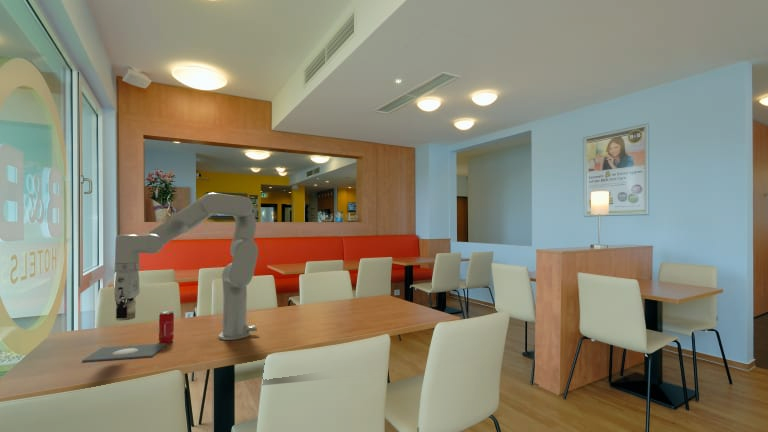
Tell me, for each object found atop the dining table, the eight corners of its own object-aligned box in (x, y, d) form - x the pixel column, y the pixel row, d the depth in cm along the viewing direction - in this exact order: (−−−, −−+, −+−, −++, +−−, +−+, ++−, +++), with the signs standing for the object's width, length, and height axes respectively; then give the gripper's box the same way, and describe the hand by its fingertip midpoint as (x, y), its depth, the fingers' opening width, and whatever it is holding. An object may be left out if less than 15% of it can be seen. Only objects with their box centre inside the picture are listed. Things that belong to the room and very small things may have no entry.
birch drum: (137, 316, 141) (138, 300, 141) (131, 320, 135) (131, 303, 135) (119, 316, 139) (120, 301, 139) (112, 320, 133) (113, 304, 134)
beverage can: (166, 344, 148) (167, 314, 148) (155, 343, 149) (156, 313, 149) (176, 340, 153) (176, 311, 153) (165, 339, 154) (166, 310, 154)
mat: (165, 344, 147) (165, 342, 147) (152, 356, 134) (152, 354, 134) (102, 348, 142) (102, 347, 142) (81, 362, 128) (82, 360, 128)
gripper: (128, 269, 130) (127, 321, 130) (147, 264, 147) (146, 310, 146) (104, 270, 128) (102, 322, 128) (125, 265, 145) (124, 311, 145)
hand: (125, 315), depth 137 cm, fingers closed on birch drum, 6 cm apart
